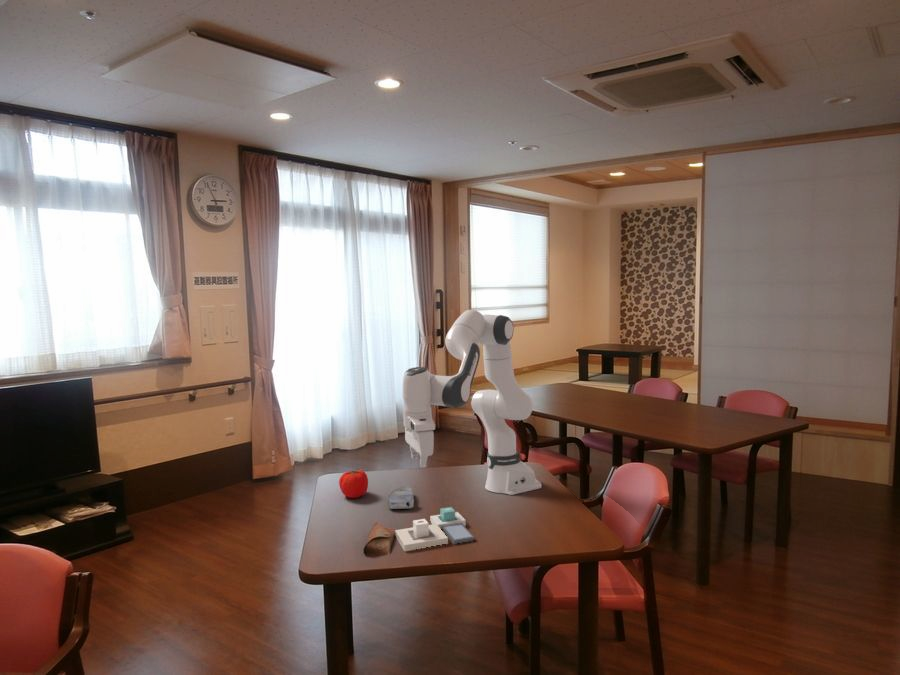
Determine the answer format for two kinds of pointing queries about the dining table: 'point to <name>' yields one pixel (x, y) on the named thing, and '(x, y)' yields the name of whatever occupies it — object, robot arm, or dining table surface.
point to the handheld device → (401, 498)
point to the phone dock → (454, 528)
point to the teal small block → (447, 514)
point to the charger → (420, 528)
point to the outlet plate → (420, 538)
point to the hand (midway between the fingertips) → (418, 462)
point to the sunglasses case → (379, 540)
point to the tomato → (354, 483)
